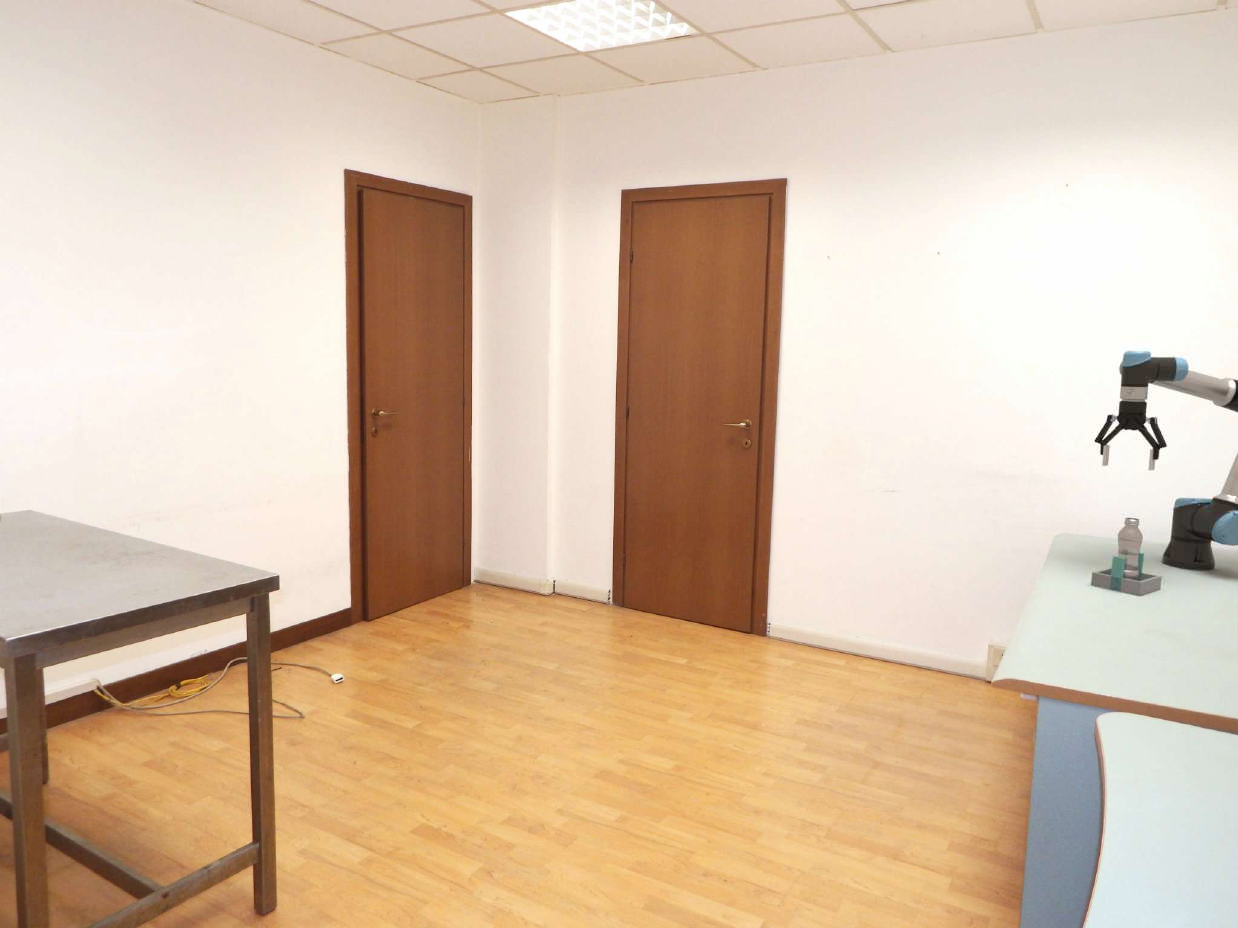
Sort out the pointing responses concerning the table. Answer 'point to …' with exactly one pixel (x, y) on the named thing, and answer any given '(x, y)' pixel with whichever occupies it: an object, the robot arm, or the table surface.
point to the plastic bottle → (1130, 547)
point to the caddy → (1115, 580)
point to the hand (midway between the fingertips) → (1127, 467)
